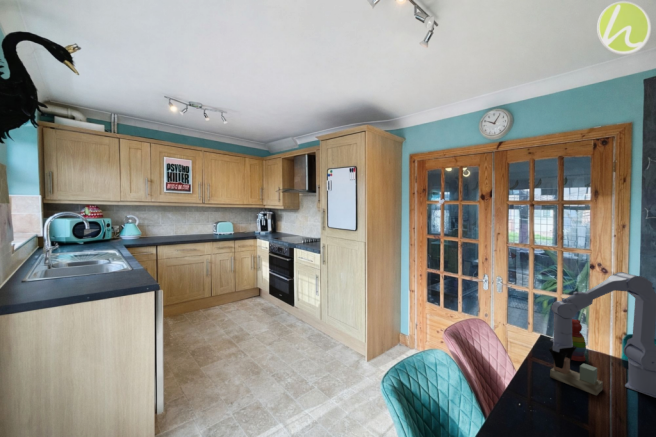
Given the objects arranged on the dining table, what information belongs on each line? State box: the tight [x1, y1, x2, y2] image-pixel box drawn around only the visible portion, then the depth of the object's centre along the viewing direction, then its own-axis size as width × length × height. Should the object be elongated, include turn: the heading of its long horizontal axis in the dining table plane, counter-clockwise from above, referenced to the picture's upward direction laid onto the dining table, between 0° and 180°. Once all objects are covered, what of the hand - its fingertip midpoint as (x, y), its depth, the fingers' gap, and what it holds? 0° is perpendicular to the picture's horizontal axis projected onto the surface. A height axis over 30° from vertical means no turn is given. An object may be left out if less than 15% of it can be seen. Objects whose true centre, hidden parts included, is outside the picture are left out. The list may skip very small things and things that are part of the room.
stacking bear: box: [571, 318, 587, 362], centre depth 131 cm, size 11×10×18 cm
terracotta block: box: [553, 357, 571, 374], centre depth 113 cm, size 4×4×5 cm
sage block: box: [579, 363, 598, 384], centre depth 106 cm, size 4×4×5 cm
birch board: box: [549, 367, 604, 396], centre depth 109 cm, size 14×7×3 cm, turn 32°
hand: (562, 364), depth 112 cm, fingers open, 7 cm apart
